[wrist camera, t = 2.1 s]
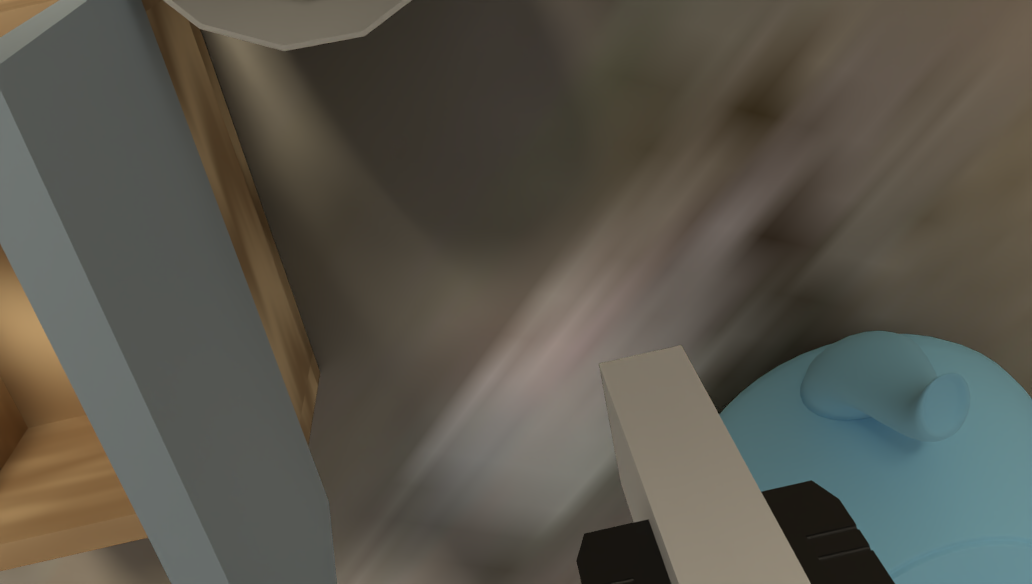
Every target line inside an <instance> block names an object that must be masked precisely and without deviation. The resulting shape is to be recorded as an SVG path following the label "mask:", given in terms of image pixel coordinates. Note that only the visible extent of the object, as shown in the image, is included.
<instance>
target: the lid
mask: <svg viewBox="0 0 1032 584" xmlns="http://www.w3.org/2000/svg"><path fill="white" fill-rule="evenodd" d="M0 244H1V246H2V248H3V250H4V252H5V254H6V256H7V258H8V260H9V262H10V264H11V266H12V268H13V270H14V272H15V274H16V276H17V278H18V280H19V282H20V284H21V286H22V288H23V290H24V292H25V294H26V296H27V298H28V300H29V302H30V304H31V306H32V308H33V310H34V312H35V314H36V316H37V318H38V320H39V322H40V324H41V326H42V328H43V330H44V332H45V334H46V336H47V338H48V340H49V341H50V343H51V345H52V347H53V349H54V351H55V353H56V355H57V357H58V359H59V361H60V363H61V365H62V367H63V369H64V371H65V373H66V375H67V377H68V379H69V381H70V383H71V385H72V387H73V389H74V391H75V393H76V395H77V397H78V399H79V401H80V403H81V405H82V407H83V409H84V411H85V413H86V415H87V417H88V419H89V421H90V423H91V425H92V427H93V429H94V431H95V433H96V435H97V437H98V439H99V441H100V443H101V445H102V447H103V449H104V451H105V453H106V455H107V457H108V459H109V461H110V463H111V465H112V467H113V469H114V471H115V473H116V475H117V477H118V479H119V481H120V483H121V485H122V487H123V489H124V490H125V492H126V494H127V496H128V498H129V500H130V502H131V504H132V506H133V508H134V510H135V512H136V514H137V516H138V518H139V520H140V522H141V524H142V526H143V528H144V530H145V532H146V534H147V536H148V538H149V540H150V542H151V544H152V546H153V548H154V550H155V552H156V554H157V556H158V558H159V560H160V562H161V564H162V566H163V568H164V570H165V572H166V574H167V576H168V578H169V580H170V582H171V584H337V578H336V568H335V558H334V548H333V538H332V527H331V517H330V507H329V501H328V498H327V495H326V493H325V490H324V487H323V485H322V482H321V479H320V477H319V474H318V471H317V469H316V466H315V463H314V461H313V458H312V455H311V453H310V450H309V447H308V444H307V442H306V439H305V436H304V434H303V431H302V428H301V426H300V423H299V420H298V418H297V415H296V412H295V410H294V407H293V404H292V402H291V399H290V396H289V394H288V391H287V388H286V386H285V383H284V380H283V378H282V375H281V372H280V370H279V367H278V364H277V362H276V359H275V356H274V354H273V351H272V348H271V346H270V343H269V340H268V337H267V335H266V332H265V329H264V327H263V324H262V321H261V319H260V316H259V313H258V311H257V308H256V305H255V303H254V300H253V297H252V295H251V292H250V289H249V287H248V284H247V281H246V279H245V276H244V273H243V271H242V268H241V265H240V263H239V260H238V257H237V255H236V252H235V249H234V247H233V244H232V241H231V239H230V236H229V233H228V230H227V228H226V225H225V222H224V220H223V217H222V214H221V212H220V209H219V206H218V204H217V201H216V198H215V196H214V193H213V190H212V188H211V185H210V182H209V180H208V177H207V174H206V172H205V169H204V166H203V164H202V161H201V158H200V156H199V153H198V150H197V148H196V145H195V142H194V140H193V137H192V134H191V132H190V129H189V126H188V123H187V121H186V118H185V115H184V113H183V110H182V107H181V105H180V102H179V99H178V97H177V94H176V91H175V89H174V86H173V83H172V81H171V78H170V75H169V73H168V70H167V67H166V65H165V62H164V59H163V57H162V54H161V51H160V49H159V46H158V43H157V41H156V38H155V35H154V33H153V30H152V27H151V25H150V22H149V19H148V16H147V14H146V11H145V8H144V6H143V3H142V0H59V1H57V2H56V3H54V4H53V5H51V6H49V7H48V8H46V9H45V10H43V11H41V12H40V13H38V14H37V15H35V16H34V17H32V18H30V19H29V20H27V21H26V22H24V23H22V24H21V25H19V26H18V27H16V28H15V29H13V30H11V31H10V32H8V33H7V34H5V35H3V36H2V37H0Z"/></svg>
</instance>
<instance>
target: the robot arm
mask: <svg viewBox="0 0 1032 584" xmlns="http://www.w3.org/2000/svg"><path fill="white" fill-rule="evenodd" d="M599 367H600V373H601V378H602V384H603V389H604V395H605V400H606V405H607V411H608V416H609V422H610V427H611V433H612V438H613V444H614V449H615V455H616V460H617V466H618V471H619V477H620V482H621V486H622V489H623V492H624V495H625V498H626V501H627V504H628V507H629V510H630V513H631V516H632V519H633V522H634V523H630V524H626V525H621V526H617V527H612V528H608V529H603V530H599V531H595V532H590V533H586V534H584V537H583V540H582V544H581V547H580V551H579V554H578V557H577V565H578V570H579V574H580V579H581V583H582V584H895V583H894V581H893V580H892V578H891V577H890V575H889V574H888V572H887V571H886V569H885V568H884V566H883V565H882V563H881V562H880V560H879V558H878V557H877V555H876V554H875V552H874V551H873V550H871V549H870V545H869V543H868V542H867V540H866V539H865V537H864V536H863V534H862V533H861V531H860V530H859V529H857V527H856V524H855V522H854V520H853V519H852V517H851V516H850V514H849V513H848V511H847V510H846V508H845V507H844V505H843V504H842V502H841V501H840V499H839V498H837V497H836V496H834V495H833V494H831V493H830V492H828V491H827V490H825V489H824V488H822V487H821V486H819V485H818V484H816V483H815V482H814V481H812V480H810V481H806V482H802V483H797V484H793V485H788V486H784V487H780V488H775V489H771V490H766V491H762V492H761V491H760V489H759V487H758V485H757V483H756V482H755V480H754V478H753V476H752V474H751V472H750V471H749V469H748V467H747V465H746V463H745V461H744V460H743V458H742V456H741V454H740V452H739V450H738V448H737V447H736V445H735V443H734V441H733V439H732V437H731V436H730V434H729V432H728V430H727V428H726V426H725V425H724V423H723V421H722V419H721V417H720V415H719V414H718V412H717V410H716V408H715V406H714V404H713V402H712V401H711V399H710V397H709V395H708V393H707V391H706V390H705V388H704V386H703V384H702V382H701V380H700V379H699V377H698V375H697V373H696V371H695V369H694V368H693V366H692V364H691V362H690V360H689V358H688V356H687V355H686V353H685V351H684V349H683V347H682V345H679V346H675V347H670V348H666V349H661V350H657V351H653V352H648V353H644V354H639V355H635V356H630V357H626V358H621V359H617V360H613V361H608V362H604V363H599Z"/></svg>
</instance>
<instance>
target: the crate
mask: <svg viewBox="0 0 1032 584" xmlns="http://www.w3.org/2000/svg"><path fill="white" fill-rule="evenodd" d="M57 1H59V0H0V37H2V36H3V35H5V34H7V33H8V32H10V31H11V30H13V29H15V28H16V27H18V26H19V25H21V24H22V23H24V22H26V21H27V20H29V19H30V18H32V17H34V16H35V15H37V14H38V13H40V12H41V11H43V10H45V9H46V8H48V7H49V6H51V5H53V4H54V3H56V2H57ZM142 3H143V6H144V8H145V11H146V14H147V16H148V19H149V22H150V25H151V27H152V30H153V33H154V35H155V38H156V41H157V43H158V46H159V49H160V51H161V54H162V57H163V59H164V62H165V65H166V67H167V70H168V73H169V75H170V78H171V81H172V83H173V86H174V89H175V91H176V94H177V97H178V99H179V102H180V105H181V107H182V110H183V113H184V115H185V118H186V121H187V123H188V126H189V129H190V132H191V134H192V137H193V140H194V142H195V145H196V148H197V150H198V153H199V156H200V158H201V161H202V164H203V166H204V169H205V172H206V174H207V177H208V180H209V182H210V185H211V188H212V190H213V193H214V196H215V198H216V201H217V204H218V206H219V209H220V212H221V214H222V217H223V220H224V222H225V225H226V228H227V230H228V233H229V236H230V239H231V241H232V244H233V247H234V249H235V252H236V255H237V257H238V260H239V263H240V265H241V268H242V271H243V273H244V276H245V279H246V281H247V284H248V287H249V289H250V292H251V295H252V297H253V300H254V303H255V305H256V308H257V311H258V313H259V316H260V319H261V321H262V324H263V327H264V329H265V332H266V335H267V337H268V340H269V343H270V346H271V348H272V351H273V354H274V356H275V359H276V362H277V364H278V367H279V370H280V372H281V375H282V378H283V380H284V383H285V386H286V388H287V391H288V394H289V396H290V399H291V402H292V404H293V407H294V410H295V412H296V415H297V418H298V420H299V423H300V426H301V428H302V431H303V434H304V436H305V439H306V442H307V444H309V438H310V432H311V426H312V419H313V413H314V407H315V401H316V395H317V389H318V383H319V377H320V371H319V368H318V365H317V362H316V359H315V356H314V353H313V351H312V348H311V345H310V342H309V339H308V336H307V333H306V331H305V328H304V325H303V322H302V319H301V316H300V313H299V311H298V308H297V305H296V302H295V299H294V296H293V293H292V291H291V288H290V285H289V282H288V279H287V276H286V273H285V271H284V268H283V265H282V262H281V259H280V256H279V253H278V251H277V248H276V245H275V242H274V239H273V236H272V233H271V231H270V228H269V225H268V222H267V219H266V216H265V213H264V211H263V208H262V205H261V202H260V199H259V196H258V193H257V191H256V188H255V185H254V182H253V179H252V176H251V173H250V171H249V168H248V165H247V162H246V159H245V156H244V153H243V151H242V148H241V145H240V142H239V139H238V136H237V133H236V131H235V128H234V125H233V122H232V119H231V116H230V113H229V111H228V108H227V105H226V102H225V99H224V96H223V93H222V91H221V88H220V85H219V82H218V79H217V76H216V73H215V71H214V68H213V65H212V62H211V59H210V56H209V53H208V51H207V48H206V45H205V42H204V39H203V36H202V33H201V31H200V29H199V28H198V27H197V26H195V25H194V24H193V23H191V22H190V21H189V20H188V19H186V18H185V17H184V16H182V15H181V14H180V13H179V12H177V11H176V10H175V9H174V8H172V7H171V6H170V5H168V4H167V3H166V2H165V1H163V0H142ZM144 538H148V536H147V534H146V532H145V530H144V528H143V526H142V524H141V522H140V520H139V518H138V516H137V514H136V512H135V510H134V508H133V506H132V504H131V502H130V500H129V498H128V496H127V494H126V492H125V490H124V489H123V487H122V485H121V483H120V481H119V479H118V477H117V475H116V473H115V471H114V469H113V467H112V465H111V463H110V461H109V459H108V457H107V455H106V453H105V451H104V449H103V447H102V445H101V443H100V441H99V439H98V437H97V435H96V433H95V431H94V429H93V427H92V425H91V423H90V421H89V419H88V417H87V415H86V413H85V411H84V409H83V407H82V405H81V403H80V401H79V399H78V397H77V395H76V393H75V391H74V389H73V387H72V385H71V383H70V381H69V379H68V377H67V375H66V373H65V371H64V369H63V367H62V365H61V363H60V361H59V359H58V357H57V355H56V353H55V351H54V349H53V347H52V345H51V343H50V341H49V340H48V338H47V336H46V334H45V332H44V330H43V328H42V326H41V324H40V322H39V320H38V318H37V316H36V314H35V312H34V310H33V308H32V306H31V304H30V302H29V300H28V298H27V296H26V294H25V292H24V290H23V288H22V286H21V284H20V282H19V280H18V278H17V276H16V274H15V272H14V270H13V268H12V266H11V264H10V262H9V260H8V258H7V256H6V254H5V252H4V250H3V248H2V246H1V244H0V571H3V570H7V569H12V568H16V567H21V566H25V565H29V564H34V563H38V562H43V561H47V560H52V559H56V558H60V557H65V556H69V555H74V554H78V553H82V552H87V551H91V550H96V549H100V548H105V547H109V546H113V545H118V544H122V543H127V542H131V541H136V540H140V539H144Z"/></svg>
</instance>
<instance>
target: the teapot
mask: <svg viewBox="0 0 1032 584" xmlns="http://www.w3.org/2000/svg"><path fill="white" fill-rule="evenodd" d="M720 417H721V419H722V421H723V423H724V425H725V426H726V428H727V430H728V432H729V434H730V436H731V437H732V439H733V441H734V443H735V445H736V447H737V448H738V450H739V452H740V454H741V456H742V458H743V460H744V461H745V463H746V465H747V467H748V469H749V471H750V472H751V474H752V476H753V478H754V480H755V482H756V483H757V485H758V487H759V489H760V491H761V492H762V491H766V490H771V489H775V488H780V487H784V486H788V485H793V484H797V483H802V482H806V481H810V480H812V481H814V482H815V483H816V484H818V485H819V486H821V487H822V488H824V489H825V490H827V491H828V492H830V493H831V494H833V495H834V496H836V497H837V498H839V499H840V501H841V502H842V504H843V505H844V507H845V508H846V510H847V511H848V513H849V514H850V516H851V517H852V519H853V520H854V522H855V524H856V527H857V529H859V530H860V531H861V533H862V534H863V536H864V537H865V539H866V540H867V542H868V543H869V545H870V549H871V550H873V551H874V552H875V554H876V555H877V557H878V558H879V560H880V562H881V563H882V565H883V566H884V568H885V569H886V571H887V572H888V574H889V575H890V577H891V578H892V580H893V581H894V583H895V584H1032V399H1031V397H1030V396H1029V395H1028V393H1027V392H1026V391H1025V390H1024V388H1023V387H1022V386H1021V385H1020V384H1019V383H1018V382H1017V381H1016V380H1015V379H1014V378H1013V377H1012V376H1010V375H1009V374H1008V373H1007V372H1006V371H1005V370H1004V369H1003V368H1001V367H1000V366H999V365H998V364H997V363H996V362H994V361H992V360H991V359H989V358H988V357H986V356H984V355H983V354H981V353H979V352H977V351H975V350H972V349H970V348H968V347H965V346H963V345H960V344H957V343H954V342H950V341H946V340H942V339H938V338H934V337H930V336H922V335H913V334H897V333H894V332H887V331H868V332H862V333H858V334H855V335H851V336H848V337H846V338H844V339H841V340H839V341H837V342H835V343H833V344H829V345H825V346H823V347H820V348H817V349H814V350H812V351H809V352H806V353H803V354H801V355H799V356H797V357H795V358H793V359H791V360H789V361H787V362H785V363H783V364H781V365H779V366H777V367H776V368H774V369H772V370H771V371H769V372H768V373H766V374H764V375H763V376H761V377H760V378H758V379H757V380H756V381H755V382H753V383H752V384H751V385H750V386H748V387H747V388H746V389H744V390H743V391H742V392H741V393H740V394H739V395H738V396H737V397H736V398H735V399H734V400H732V401H731V402H730V403H729V404H728V405H727V406H726V407H725V408H724V410H723V411H722V412H721V413H720Z"/></svg>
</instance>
